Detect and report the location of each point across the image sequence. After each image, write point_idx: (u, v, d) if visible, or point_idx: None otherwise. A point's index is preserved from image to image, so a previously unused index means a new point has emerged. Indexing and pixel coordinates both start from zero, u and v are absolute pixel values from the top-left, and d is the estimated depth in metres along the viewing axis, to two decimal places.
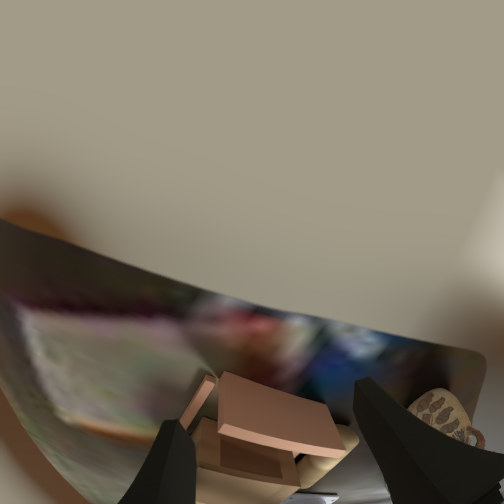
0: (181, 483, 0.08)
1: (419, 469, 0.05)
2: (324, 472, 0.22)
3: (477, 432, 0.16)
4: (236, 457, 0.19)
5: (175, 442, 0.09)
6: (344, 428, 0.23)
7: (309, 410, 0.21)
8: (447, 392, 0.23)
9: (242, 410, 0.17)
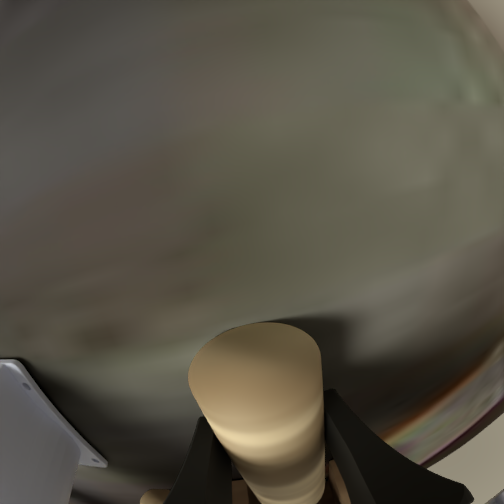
0: (221, 480, 0.08)
1: (368, 492, 0.05)
2: None
3: None
4: None
5: (215, 438, 0.09)
6: None
7: None
8: None
9: None
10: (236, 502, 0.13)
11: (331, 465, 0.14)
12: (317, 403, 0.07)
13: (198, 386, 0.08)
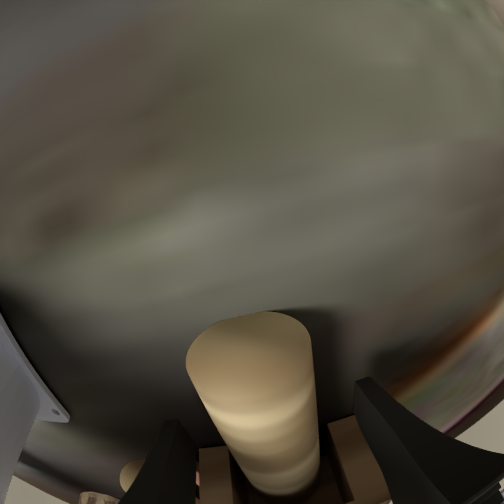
0: (181, 483, 0.08)
1: (419, 469, 0.05)
2: None
3: None
4: None
5: (175, 442, 0.09)
6: None
7: None
8: None
9: None
10: (215, 473, 0.12)
11: (330, 429, 0.13)
12: (307, 389, 0.08)
13: (194, 368, 0.08)
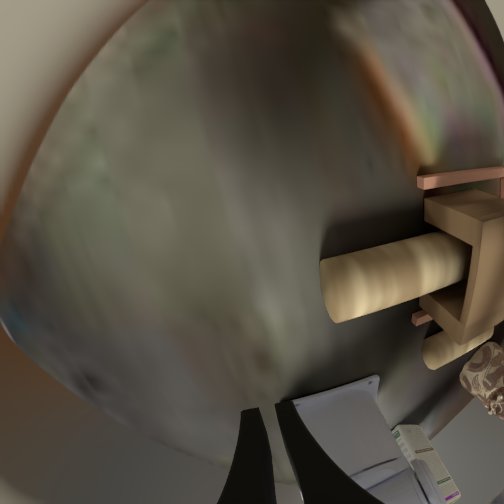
0: (268, 474, 0.08)
1: None
2: None
3: None
4: None
5: (262, 430, 0.09)
6: None
7: None
8: None
9: None
10: (431, 307, 0.19)
11: (427, 221, 0.18)
12: (351, 266, 0.16)
13: (335, 319, 0.17)
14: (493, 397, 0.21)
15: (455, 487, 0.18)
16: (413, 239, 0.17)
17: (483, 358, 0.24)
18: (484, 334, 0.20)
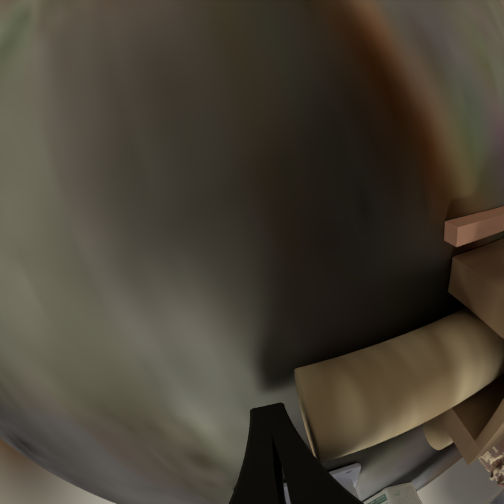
0: (278, 472, 0.08)
1: None
2: None
3: None
4: None
5: (271, 428, 0.09)
6: None
7: None
8: None
9: None
10: None
11: (453, 294, 0.10)
12: (343, 395, 0.08)
13: (313, 452, 0.09)
14: (498, 464, 0.13)
15: None
16: (450, 326, 0.09)
17: None
18: None
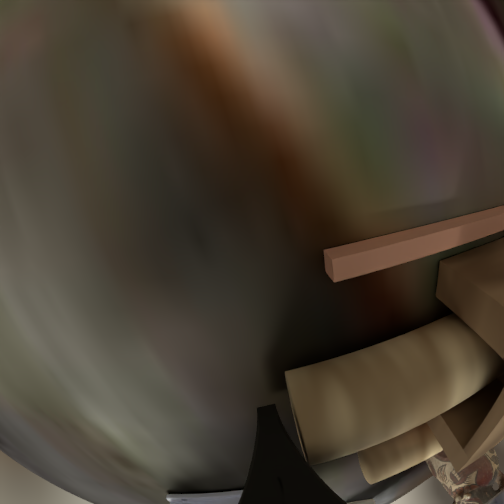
0: None
1: None
2: None
3: None
4: None
5: (279, 427, 0.09)
6: None
7: None
8: None
9: None
10: None
11: (441, 299, 0.10)
12: (332, 399, 0.08)
13: (304, 455, 0.09)
14: (460, 492, 0.13)
15: None
16: (444, 329, 0.09)
17: None
18: None
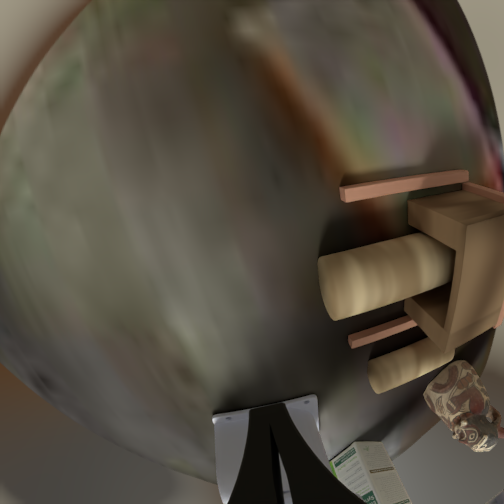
0: (277, 472, 0.08)
1: None
2: None
3: (496, 410, 0.19)
4: None
5: (270, 429, 0.09)
6: None
7: None
8: None
9: None
10: (416, 312, 0.19)
11: (411, 224, 0.18)
12: (347, 261, 0.16)
13: (334, 316, 0.17)
14: (458, 421, 0.21)
15: None
16: (410, 235, 0.17)
17: (448, 379, 0.24)
18: (442, 357, 0.20)
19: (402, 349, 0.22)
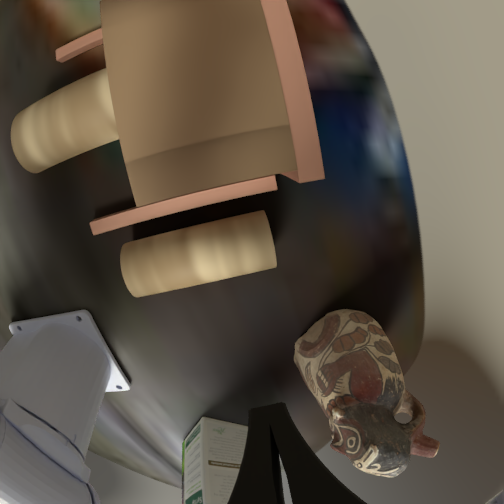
0: (277, 472, 0.08)
1: None
2: (186, 274, 0.14)
3: None
4: None
5: (270, 429, 0.09)
6: None
7: None
8: None
9: None
10: None
11: None
12: (36, 102, 0.11)
13: None
14: None
15: None
16: None
17: (321, 334, 0.19)
18: (235, 221, 0.15)
19: None
